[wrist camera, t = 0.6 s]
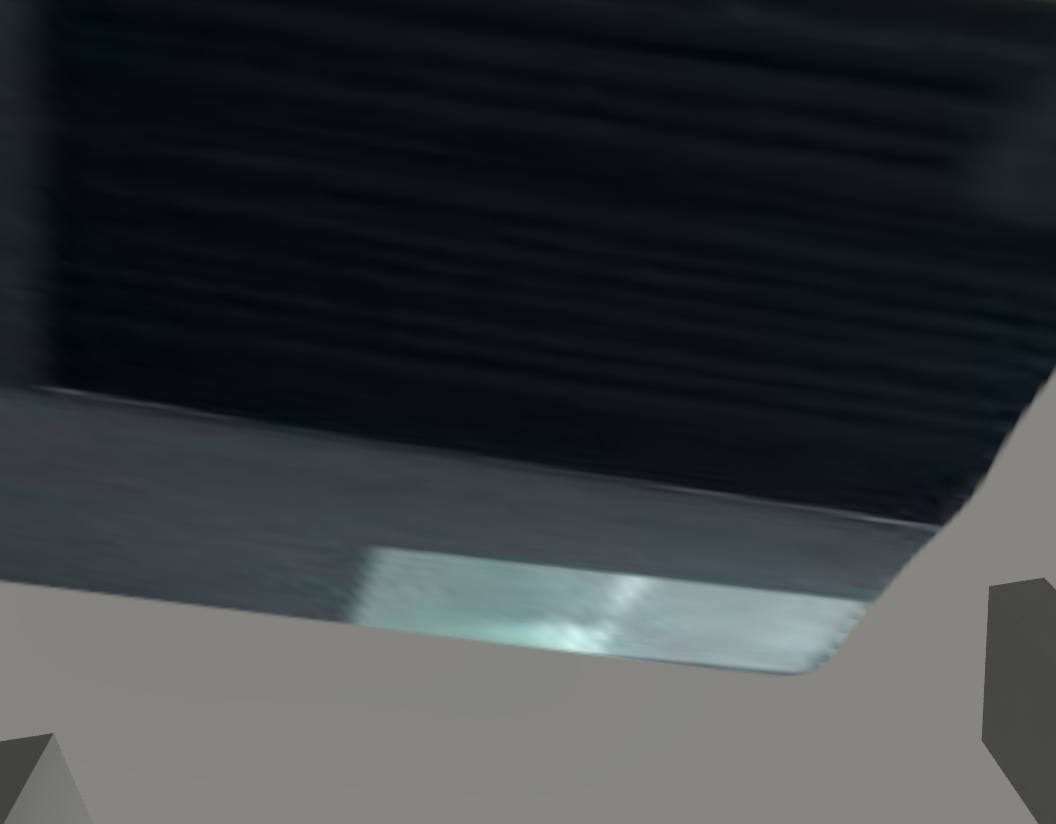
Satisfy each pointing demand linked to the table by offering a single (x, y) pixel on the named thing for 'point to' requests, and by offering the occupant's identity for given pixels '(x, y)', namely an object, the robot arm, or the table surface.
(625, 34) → the table surface
